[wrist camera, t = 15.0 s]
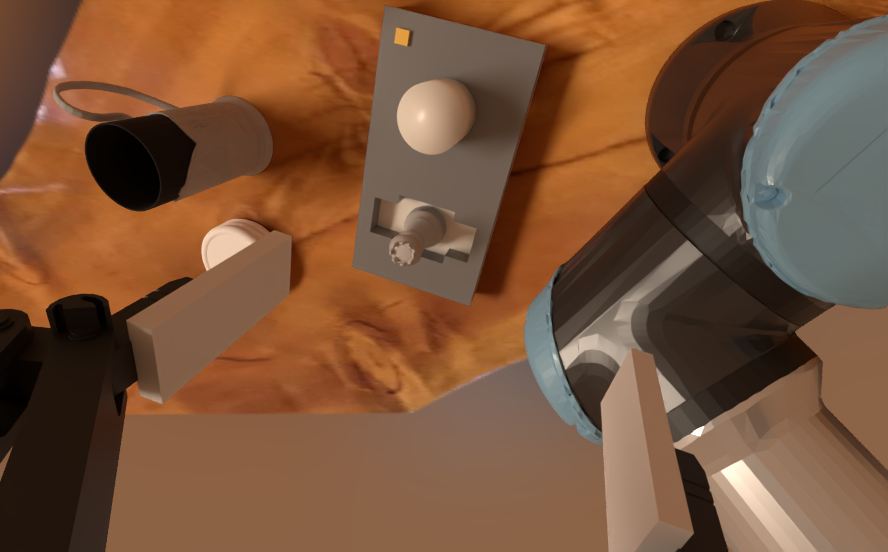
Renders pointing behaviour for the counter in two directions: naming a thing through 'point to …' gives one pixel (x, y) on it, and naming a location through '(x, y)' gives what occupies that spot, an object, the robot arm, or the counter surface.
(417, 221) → the rook chess piece
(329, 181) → the counter surface
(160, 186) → the glass holder
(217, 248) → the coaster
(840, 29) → the robot arm
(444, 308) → the counter surface
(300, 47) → the counter surface
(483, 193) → the grey panel with recess
